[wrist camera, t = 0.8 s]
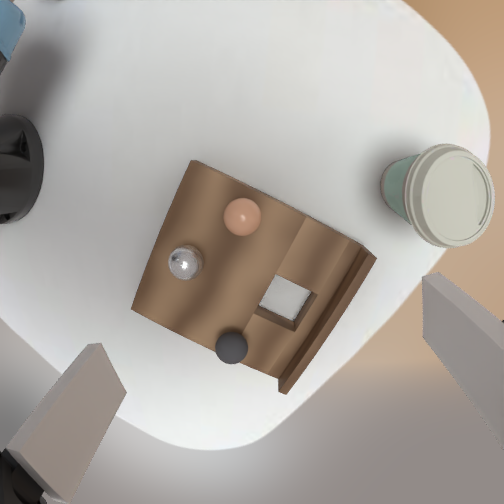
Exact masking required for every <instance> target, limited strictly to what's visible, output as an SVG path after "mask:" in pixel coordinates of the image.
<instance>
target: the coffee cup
mask: <svg viewBox="0 0 504 504" xmlns="http://www.w3.org/2000/svg"><path fill="white" fill-rule="evenodd" d="M381 194H382V197H383V199H384V201H385V202H386V204H387V205H388V206H389V207H390V208H391V209H392V210H394V211H395V212H396V213H397V214H399V215H400V216H401V217H402V218H403V219H405V220H406V221H407V222H408V223H409V224H411V225H412V226H413V228H414V229H415V231H416V232H417V233H418V235H419V236H420V237H421V238H423V239H424V240H425V241H426V242H428V243H430V244H432V245H434V246H438V247H443V248H455V247H459V246H464V245H467V244H470V243H472V242H473V241H475V240H476V239H477V238H479V237H480V236H481V235H482V233H483V232H484V231H485V229H486V228H487V226H488V224H489V222H490V220H491V217H492V214H493V210H494V203H495V195H494V186H493V182H492V179H491V176H490V173H489V172H488V170H487V168H486V166H485V165H484V164H483V163H482V161H481V160H480V159H479V158H477V157H476V156H475V155H473V154H472V153H471V152H469V151H468V150H466V149H464V148H462V147H460V146H456V145H453V144H438V145H435V146H432V147H430V148H428V149H427V150H425V151H424V152H423V153H421V154H418V155H415V156H411V157H408V158H405V159H402V160H399V161H396V162H394V163H392V164H391V165H389V166H388V167H387V169H386V170H385V171H384V173H383V175H382V178H381Z"/></svg>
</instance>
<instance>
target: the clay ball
mask: <svg viewBox="0 0 504 504" xmlns="http://www.w3.org/2000/svg"><path fill="white" fill-rule="evenodd" d="M223 219H224V224H225V226H226V227H227V229H228V230H229V231H230V232H231V233H233V234H235V235H238V236H247V235H250V234H252V233H254V232H255V231H256V230H257V229H258V227H259V226H260V223H261V219H262V215H261V211H260V208H259V207H258V205H257V204H256V203H255V202H254V201H252V200H250V199H247V198H238V199H235V200H233V201H231V202H230V203H229V204H228V205H227V207H226V208H225V211H224V215H223Z"/></svg>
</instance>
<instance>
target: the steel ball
mask: <svg viewBox="0 0 504 504" xmlns="http://www.w3.org/2000/svg"><path fill="white" fill-rule="evenodd" d="M203 264H204V261H203V257H202V254H201V253H200V251H199V250H198V249H197V248H195V247H193V246H191V245H181V246H178V247H176V248H175V249H174V250H173V251H172V252H171V253H170V255H169V258H168V267H169V270H170V272H171V273H172V275H173V276H174V277H176V278H177V279H179V280H183V281H189V280H192V279H194V278H196V277H197V276H198V275H199V274H200V273H201V271H202V269H203Z"/></svg>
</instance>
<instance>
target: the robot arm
mask: <svg viewBox="0 0 504 504" xmlns="http://www.w3.org/2000/svg"><path fill="white" fill-rule="evenodd" d="M25 24H26V19H25V15H24V13H23V12H22V11H21V10H20V9H19V8H18V7H17V6H16V5H15V4H13V3H12V2H10V0H0V75H1V73H2V71H3V69H4V67H5V65H6V63H7V62H9V60H10V59H11V54H12V52H13V50H14V48H15V46H16V44H17V42H18V40H19V38H20V36H21V34H22V33H23V31H24V28H25ZM42 176H43V151H42V145H41V141H40V138H39V135H38V133H37V131H36V129H35V127H34V126H33V125H32V123H31V122H30V121H29V120H27V119H26V118H24V117H22V116H19V115H10V114H4V115H0V224H6V223H10V222H13V221H16V220H19V219H20V218H22V217H23V216H25V215H26V214H27V213H28V212H29V210H30V209H31V207H32V206H33V204H34V202H35V200H36V198H37V196H38V193H39V190H40V186H41V182H42ZM422 295H423V338H424V339H425V341H426V342H427V343H428V345H429V346H430V347H431V349H432V350H433V351H434V352H435V354H436V355H437V356H438V358H439V359H440V360H441V362H442V363H443V364H444V366H445V367H446V368H447V370H448V371H449V372H450V374H451V375H452V376H453V378H454V379H455V380H456V382H457V383H458V385H459V386H460V387H461V389H462V390H463V391H464V393H465V394H466V396H467V397H468V398H469V400H470V401H471V403H472V404H473V406H474V407H475V409H476V410H477V411H478V413H479V414H480V415H481V417H482V419H483V420H484V422H485V423H486V425H487V426H488V428H489V429H490V431H491V432H492V434H493V435H494V436H495V438H496V440H497V441H498V443H499V445H500V446H501V447H502V449H503V450H504V320H503V321H501V320H499V319H498V318H497V317H496V316H494V315H493V314H492V313H491V312H490V311H488V310H487V309H486V308H485V307H483V306H482V305H481V304H480V303H478V302H477V301H476V300H475V299H473V298H472V297H471V296H470V295H468V294H467V293H465V292H464V291H463V290H462V289H460V288H459V287H458V286H457V285H455V284H454V283H453V282H451V281H450V280H448V279H447V278H446V277H445V276H443V275H442V274H441V273H439V272H436V273H433V274H430V275H426V276H423V277H422ZM126 393H127V392H126V390H125V388H124V387H123V385H122V383H121V381H120V379H119V377H118V375H117V374H116V372H115V370H114V368H113V366H112V364H111V362H110V360H109V358H108V356H107V354H106V352H105V350H104V348H103V346H102V344H101V343H96V344H88V345H87V346H86V347H85V348H84V350H83V351H82V352H81V353H80V354H79V355H78V357H77V358H76V359H75V360H74V361H73V363H72V364H71V365H70V366H69V367H68V369H67V370H66V371H65V372H64V373H63V375H62V376H61V377H60V378H59V379H58V381H57V382H56V383H55V384H54V386H53V387H52V388H51V389H50V391H49V392H48V393H47V394H46V396H45V397H44V398H43V399H42V401H41V402H40V403H39V404H38V406H37V407H36V408H35V409H34V411H33V412H32V413H31V415H30V416H29V417H28V418H27V420H26V421H25V422H24V424H23V425H22V426H21V428H20V429H19V430H18V432H17V433H16V434H15V436H14V437H13V438H12V440H11V441H10V442H9V444H8V445H7V447H6V448H5V449H4V451H3V452H2V453H1V452H0V504H47V502H46V500H45V499H44V498H43V497H42V496H41V495H42V494H43V492H44V491H45V492H46V493H47V494H48V495H49V496H50V497H51V498H52V499H53V500H54V501H57V502H61V503H64V504H70V503H71V501H72V499H73V496H74V494H75V492H76V490H77V488H78V486H79V484H80V482H81V480H82V478H83V476H84V474H85V472H86V470H87V468H88V466H89V464H90V462H91V460H92V458H93V456H94V454H95V452H96V450H97V448H98V446H99V445H100V442H101V441H102V439H103V437H104V435H105V433H106V431H107V429H108V427H109V425H110V423H111V421H112V419H113V418H114V416H115V414H116V412H117V410H118V408H119V406H120V404H121V403H122V401H123V399H124V397H125V395H126Z"/></svg>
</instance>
